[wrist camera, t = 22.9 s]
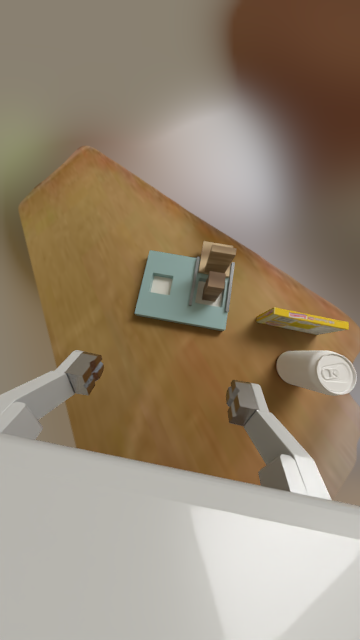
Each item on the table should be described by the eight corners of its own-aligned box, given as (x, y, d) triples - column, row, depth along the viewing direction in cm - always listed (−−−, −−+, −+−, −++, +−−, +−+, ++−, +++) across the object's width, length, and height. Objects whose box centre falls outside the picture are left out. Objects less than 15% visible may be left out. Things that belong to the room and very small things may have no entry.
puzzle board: (222, 331, 42) (226, 329, 39) (136, 315, 43) (133, 312, 39) (230, 269, 46) (234, 262, 42) (151, 255, 46) (149, 248, 43)
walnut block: (214, 301, 43) (224, 288, 34) (201, 299, 43) (207, 285, 34) (216, 289, 44) (226, 273, 35) (203, 287, 44) (210, 271, 35)
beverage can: (310, 383, 40) (365, 396, 28) (277, 385, 40) (319, 399, 28) (303, 350, 41) (352, 349, 30) (272, 351, 41) (309, 351, 30)
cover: (228, 277, 42) (242, 256, 33) (198, 272, 43) (204, 249, 33) (232, 247, 44) (247, 219, 34) (203, 243, 44) (210, 212, 35)
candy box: (317, 327, 43) (349, 321, 35) (316, 335, 42) (349, 331, 34) (256, 315, 43) (274, 306, 35) (255, 322, 43) (273, 315, 35)
